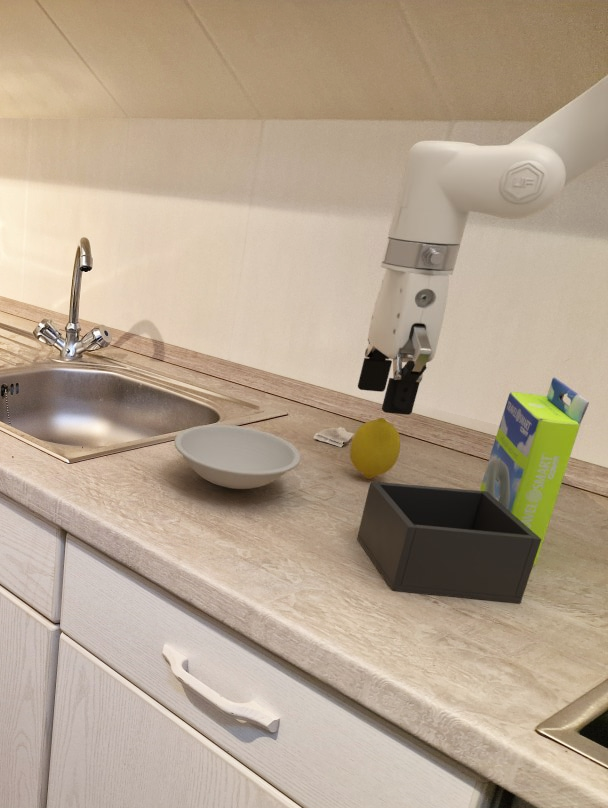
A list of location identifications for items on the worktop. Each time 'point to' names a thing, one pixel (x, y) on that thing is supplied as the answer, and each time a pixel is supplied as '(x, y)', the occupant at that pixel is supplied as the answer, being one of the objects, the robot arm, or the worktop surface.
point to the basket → (447, 542)
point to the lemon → (375, 448)
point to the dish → (236, 455)
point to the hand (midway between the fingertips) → (382, 401)
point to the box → (533, 453)
